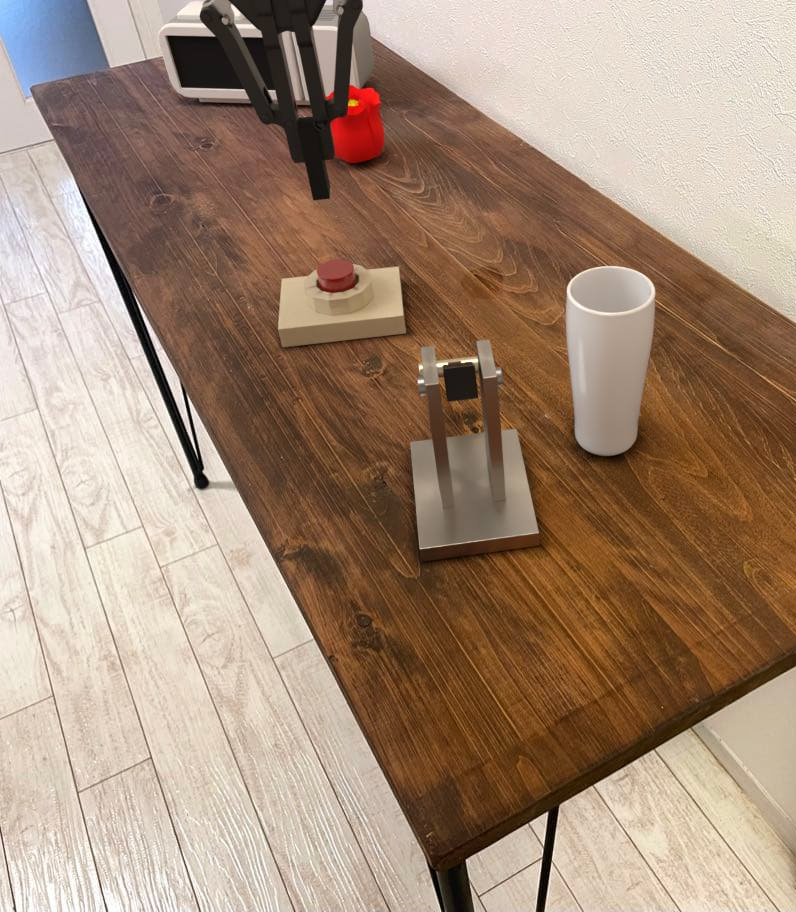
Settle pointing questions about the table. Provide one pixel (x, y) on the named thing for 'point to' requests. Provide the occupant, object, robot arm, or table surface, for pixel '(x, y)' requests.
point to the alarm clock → (253, 56)
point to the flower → (359, 127)
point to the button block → (341, 308)
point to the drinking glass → (608, 354)
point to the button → (336, 276)
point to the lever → (458, 377)
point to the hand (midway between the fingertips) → (321, 192)
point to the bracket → (470, 475)
